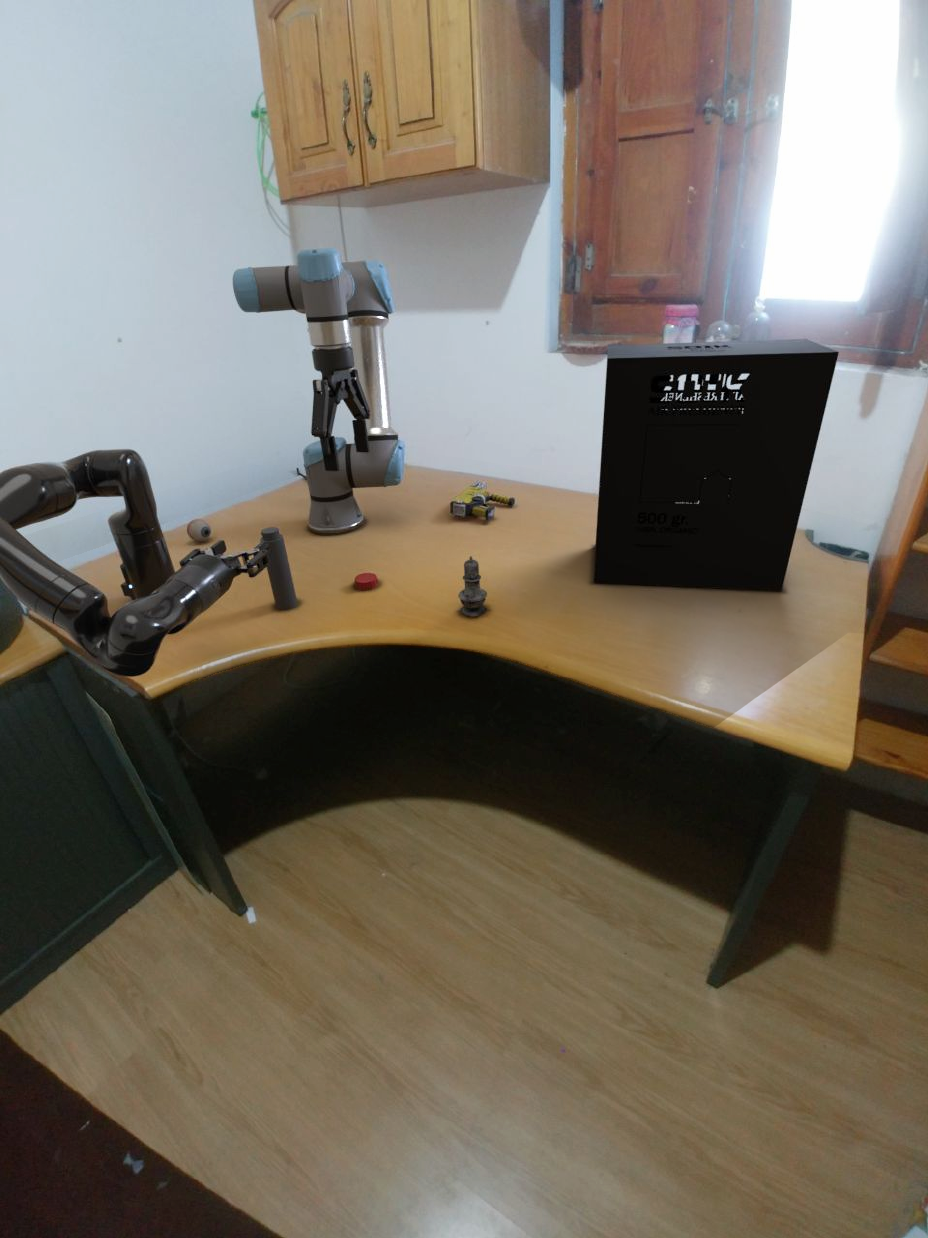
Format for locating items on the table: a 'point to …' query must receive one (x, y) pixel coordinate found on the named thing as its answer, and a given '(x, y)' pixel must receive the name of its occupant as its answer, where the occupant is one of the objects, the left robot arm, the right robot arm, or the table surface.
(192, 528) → the eyeball
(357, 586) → the lid
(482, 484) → the toy gun
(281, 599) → the bottle
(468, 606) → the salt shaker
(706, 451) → the cardboard box
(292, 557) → the table surface
